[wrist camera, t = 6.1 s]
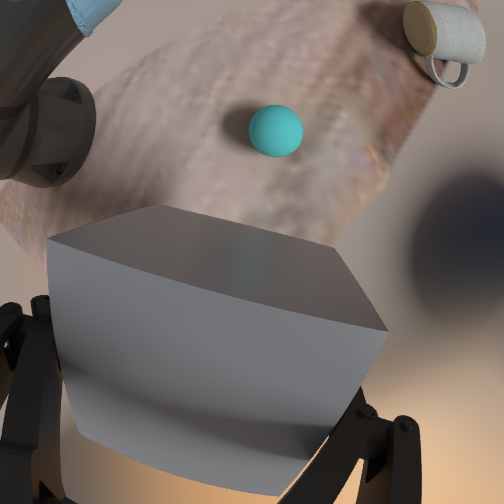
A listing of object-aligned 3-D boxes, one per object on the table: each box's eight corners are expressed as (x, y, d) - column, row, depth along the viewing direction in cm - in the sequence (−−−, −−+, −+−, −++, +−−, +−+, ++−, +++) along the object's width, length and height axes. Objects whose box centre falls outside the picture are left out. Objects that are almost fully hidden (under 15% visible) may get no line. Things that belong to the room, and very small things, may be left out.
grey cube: (143, 347, 18) (80, 433, 10) (157, 203, 15) (46, 238, 7) (283, 386, 18) (278, 496, 9) (334, 247, 15) (388, 332, 7)
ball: (246, 152, 27) (239, 147, 23) (257, 106, 26) (252, 93, 21) (294, 164, 27) (297, 161, 23) (305, 118, 26) (310, 106, 21)
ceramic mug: (392, 15, 21) (414, -15, 13) (442, 21, 19) (470, -1, 12) (421, 90, 23) (455, 74, 16) (470, 92, 22) (506, 81, 15)
